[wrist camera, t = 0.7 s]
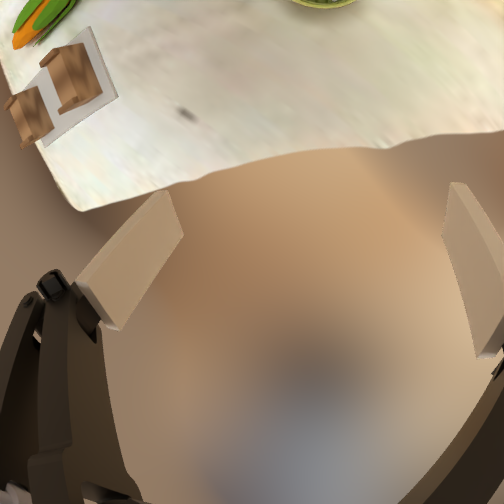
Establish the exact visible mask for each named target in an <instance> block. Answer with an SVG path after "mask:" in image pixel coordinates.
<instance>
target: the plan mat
mask: <svg viewBox="0 0 504 504" xmlns="http://www.w3.org/2000/svg"><path fill="white" fill-rule="evenodd" d="M78 43H84V46H85V48H86V51H87V54H88V56H89V59H90V61H91V64H92V67H93V69H94V72H95V74H96V77H97V79H98V81H99V84H100V86H101V89H102V91H103V93H102V94H100V95H99V96H97V97H96V98H94V99H93V100H92V101H90V102H89V103H87V104H84V105H82V106H80V107H77V108H75V109H73V110H70V111H68V112H66V113H64V114H62V115H59V113H58V109H59V108H60V107H61V106H62V104H61V102H60V100H59V97H58V95H57V92H56V90H55V87H54V85H53V82H52V79H51V77H50V74H49V71H48V69H47V66H46V67H44V68H43V69H42V70H41V71H40V72H39V73H38V74H37V75H36V76H35V77H34V78H33V80H32V81H31V82H30V83H29V84H28V85H27V86H26V87H25V89H24V90H23V91H25V90H27V89H30V88H32V87H35V86H38V88H39V91H40V94H41V96H42V99H43V101H44V104H45V106H46V109H47V111H48V113H49V116H50V118H51V120H52V123H53V125H54V127H55V128H54V129H53V130H52V131H51V132H49V133H48V134H47V135H46V136H44V137H43V138H41V141H42V143H43V145H44V147H47V146H48V145H49V144H51V143H52V142H53V141H55V140H56V139H57V138H58V137H60V136H61V135H62V134H64V133H65V132H67V131H68V130H69V129H71V128H72V127H73V126H75V125H76V124H78V123H79V122H81V121H82V120H83V119H85V118H86V117H88V116H89V115H91V114H92V113H94V112H95V111H97V110H98V109H100V108H102V107H103V106H105V105H106V104H108V103H110V102H111V101H113V100H115V99H116V98H118V95H117V93H116V90H115V88H114V85H113V83H112V81H111V78H110V76H109V73H108V71H107V68H106V66H105V63H104V61H103V58H102V56H101V53H100V51H99V48H98V45H97V43H96V40H95V38H94V35H93V32H92V30H91V27H90V26H89V27H87V28H86V29H84V30H83V31H82V32H81V33H80V34H78V35H77V36H76V37H75V38H74V39H73V40H72V41H70V42H69V43H68V44H67V45H66V46H68V45H73V44H78Z"/></svg>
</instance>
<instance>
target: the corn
mask: <svg viewBox="0 0 504 504" xmlns="http://www.w3.org/2000/svg"><path fill="white" fill-rule="evenodd" d="M70 1H71V2H70ZM75 1H76V0H29V1H28V3H27V4H26V5H25V7H24V8H23V10H22V11H21V13H20V14H19V16H18V18H17V20H16V23H15V25H14V28H13V31H12V33H14V37H13V40H12V43H13V48H14V50H16V49H20V48H22V47H23V46H24V45H26V44H27V43H28V42H29V41H30V40H32V39H33V38H34V37H35V36H36V35H37V34H38V33H39V32H41V31H42V30H43V29H44V28H45V27H46V26H47V25H48V24H49V23H50V22H51V21H52V20H53V19H54V18H55V17H56V16H57V15H58V14H59V13H60V12H61V11H62V10H63V9H64V8H65V7H66V6H67V5H68V3H69V2H70V5H69V6H68V7H67V8H66V10H65V11H64V12H63V13H62V14H61V15H60V17H59V18H58V19H57V20H56V21H55V22H54V24H53V25H52V26H51V27H50V28H49V30H48V31H47V32H46V33H45V34H44V35H43V36H42V37H41V38H40V39H39V40H38V41H37V42H36V44H37V43H38V42H39V41H40V40H41V39H42V38H43V37H44V36H45V35H46V34H47V33H48V32H49V31H50V30H51V29H52V28H53V27H54V26H55V25H56V24H57V22H58V21H59V20H60V19H61V18H62V17H64V16H65V15H66V14H67V13H68V12H69V10H70V9H71V8H72V7H73V5H74V3H75ZM36 44H35V45H36ZM35 45H34V46H35ZM34 46H33V47H34Z"/></svg>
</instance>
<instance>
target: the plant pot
mask: <svg viewBox="0 0 504 504" xmlns="http://www.w3.org/2000/svg"><path fill="white" fill-rule="evenodd" d="M292 1H294V2H296V3H299V4H301V5H304V6H308V7H313V8H320V9H331V8H338V7H342V6H345V5H348V4H350V3H352V2H354V1H356V0H337V1H335V2H333V1H332V0H292Z"/></svg>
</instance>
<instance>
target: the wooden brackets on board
mask: <svg viewBox="0 0 504 504" xmlns="http://www.w3.org/2000/svg"><path fill="white" fill-rule="evenodd" d="M39 64H40V67H41V68H42V67H46V66H47V69H48V71H49V74H50V77H51V79H52V82H53V85H54V87H55V90H56V92H57V95H58V97H59V100H60V102H61V104H62V106H61V107H60V108H59V109H58V113H59V115H62V114H64V113H66V112H68V111H70V110H73V109H75V108H77V107H80V106H82V105H84V104H87V103H89V102H90V101H92V100H93V99H94V98H96V97H97V96H99V95H100V94H102V93H103V91H102V89H101V86H100V84H99V81H98V79H97V77H96V74H95V72H94V69H93V67H92V64H91V61H90V59H89V56H88V54H87V51H86V48H85V46H84V43H78V44H73V45H68V46H63V47H59V48H54V49H52V50H51V51H50V52H49V53H48V54H47V55H46V56H45V57H44V58H43V59H42V60H41V62H40V63H39ZM8 109H10V111H11V113H12V116H13V118H14V121H15V123H16V126H17V128H18V131H19V133H20V135H21V137H22V140H23V142H22V143H21V144H20V148H21V150H22V149H24V148H25V147H27V146H29V145H30V144H32V143H34V142H36V141H37V140H39V139H41V138H43V137H44V136H46V135H47V134H48V133H49V132H51V131H52V130H53V129H54V128H55V127H54V125H53V123H52V120H51V118H50V116H49V113H48V111H47V109H46V106H45V104H44V101H43V99H42V96H41V94H40V91H39V88H38V86H35V87H32V88H30V89H27V90H25V91H22V92H20V93H18V94H15V95H13V96H11V97H10V98H9V100H8V101H7V102H6V104H5V105H4V110H8Z"/></svg>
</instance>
